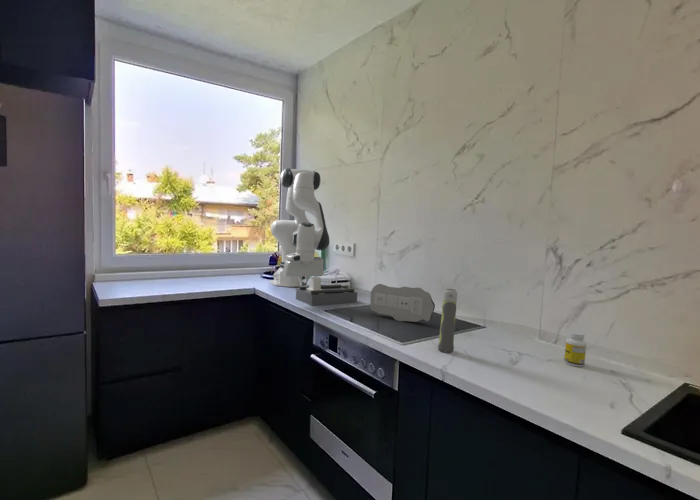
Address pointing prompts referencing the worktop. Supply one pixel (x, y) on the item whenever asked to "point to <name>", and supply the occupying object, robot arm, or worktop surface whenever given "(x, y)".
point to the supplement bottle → (575, 349)
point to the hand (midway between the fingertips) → (303, 285)
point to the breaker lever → (314, 284)
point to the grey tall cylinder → (448, 321)
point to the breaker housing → (326, 295)
